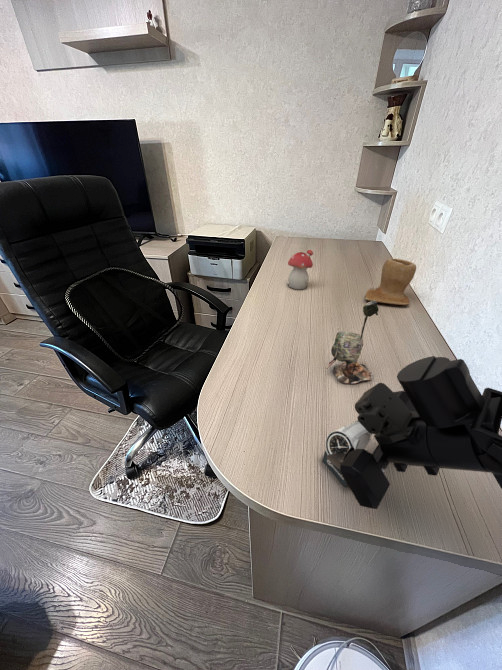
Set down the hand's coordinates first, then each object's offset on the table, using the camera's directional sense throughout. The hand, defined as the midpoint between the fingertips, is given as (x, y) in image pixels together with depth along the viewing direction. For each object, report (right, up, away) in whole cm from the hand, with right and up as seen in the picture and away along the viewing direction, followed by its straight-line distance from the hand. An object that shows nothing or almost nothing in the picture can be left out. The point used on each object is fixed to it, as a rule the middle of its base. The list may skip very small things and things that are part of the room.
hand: (341, 441), depth 47 cm
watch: (+1, -6, +3) cm, 7 cm away
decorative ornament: (+4, +37, +65) cm, 75 cm away
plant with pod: (+9, +8, +23) cm, 26 cm away
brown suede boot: (+34, +31, +56) cm, 73 cm away
